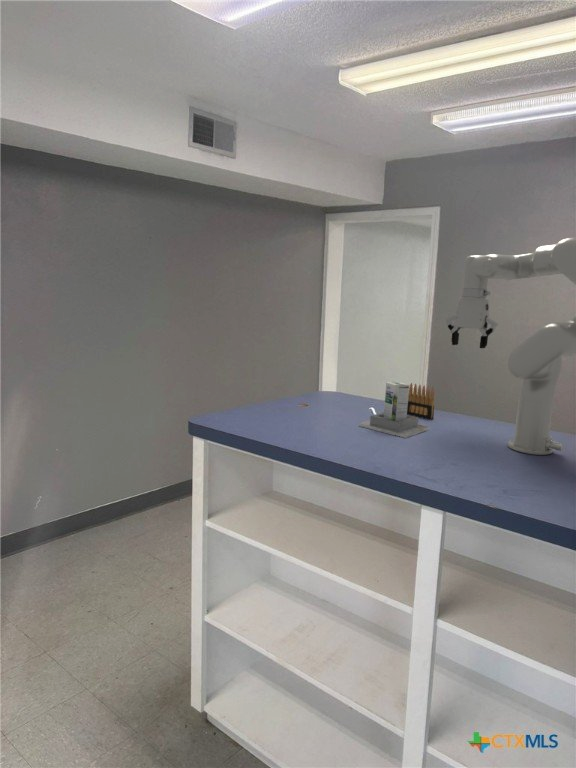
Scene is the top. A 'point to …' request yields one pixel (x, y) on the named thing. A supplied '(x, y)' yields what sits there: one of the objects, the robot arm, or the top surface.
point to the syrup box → (396, 401)
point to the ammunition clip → (421, 402)
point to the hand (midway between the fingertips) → (468, 346)
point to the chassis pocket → (395, 425)
